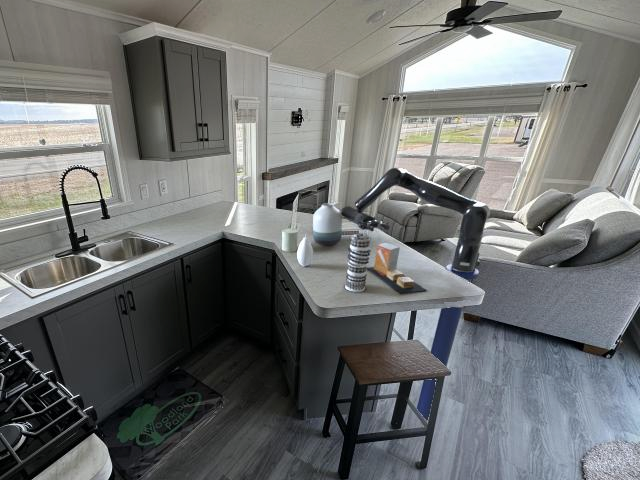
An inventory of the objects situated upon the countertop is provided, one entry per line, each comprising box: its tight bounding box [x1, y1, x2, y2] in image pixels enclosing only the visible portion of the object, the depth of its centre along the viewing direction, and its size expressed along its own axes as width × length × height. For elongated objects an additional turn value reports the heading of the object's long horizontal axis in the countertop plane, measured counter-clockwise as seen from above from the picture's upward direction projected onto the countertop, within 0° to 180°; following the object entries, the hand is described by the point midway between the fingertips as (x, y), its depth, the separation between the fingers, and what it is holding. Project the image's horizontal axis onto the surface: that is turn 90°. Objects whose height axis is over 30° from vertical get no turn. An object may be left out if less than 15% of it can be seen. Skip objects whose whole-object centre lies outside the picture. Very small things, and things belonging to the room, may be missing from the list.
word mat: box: [366, 266, 427, 295], centre depth 154 cm, size 12×28×1 cm, turn 10°
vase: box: [312, 202, 343, 246], centre depth 197 cm, size 17×17×24 cm
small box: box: [373, 242, 401, 275], centre depth 159 cm, size 8×6×13 cm
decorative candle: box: [345, 232, 372, 293], centre depth 142 cm, size 9×9×25 cm
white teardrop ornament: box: [296, 235, 314, 267], centre depth 168 cm, size 8×8×18 cm
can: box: [281, 228, 299, 253], centre depth 193 cm, size 9×9×12 cm
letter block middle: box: [387, 269, 404, 281], centre depth 153 cm, size 5×5×3 cm
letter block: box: [397, 276, 416, 288], centre depth 146 cm, size 5×5×3 cm
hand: (380, 228), depth 165 cm, fingers open, 8 cm apart
